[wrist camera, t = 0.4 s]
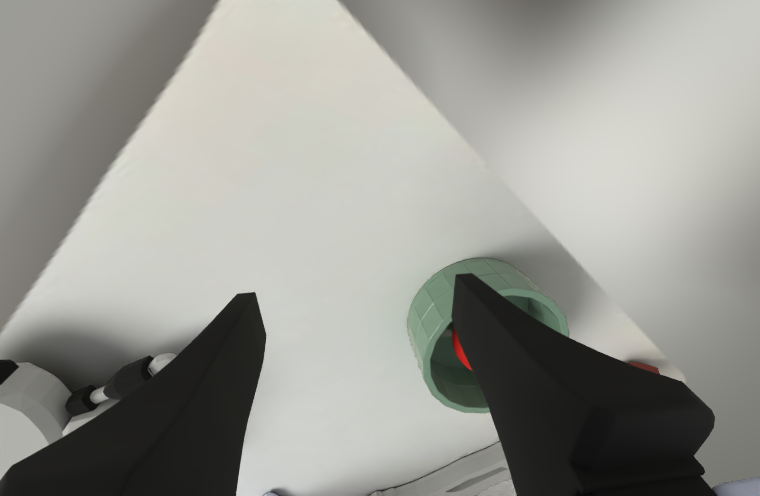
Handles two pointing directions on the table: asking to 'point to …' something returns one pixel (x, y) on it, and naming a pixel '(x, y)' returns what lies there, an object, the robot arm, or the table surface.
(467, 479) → the toy gun
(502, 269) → the bowl
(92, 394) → the robot toy
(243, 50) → the table surface
